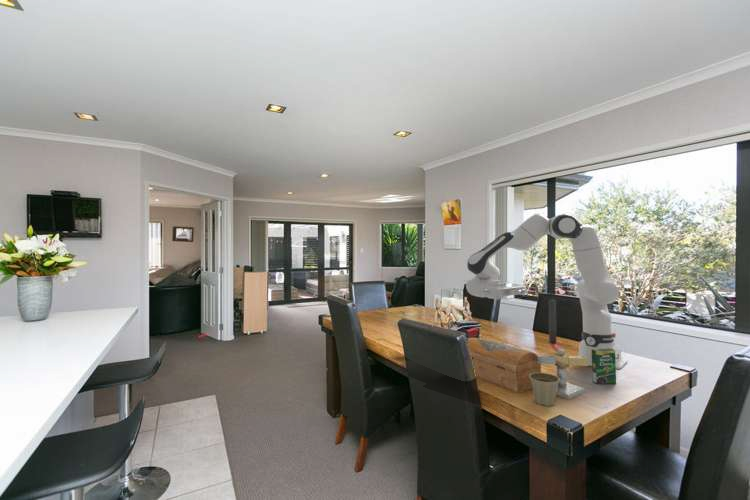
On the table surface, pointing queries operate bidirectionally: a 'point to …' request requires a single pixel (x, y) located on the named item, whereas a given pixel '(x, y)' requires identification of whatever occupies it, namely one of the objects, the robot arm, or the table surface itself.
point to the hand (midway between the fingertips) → (522, 292)
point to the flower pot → (544, 388)
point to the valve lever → (553, 328)
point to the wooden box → (503, 364)
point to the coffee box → (603, 366)
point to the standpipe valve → (564, 372)
